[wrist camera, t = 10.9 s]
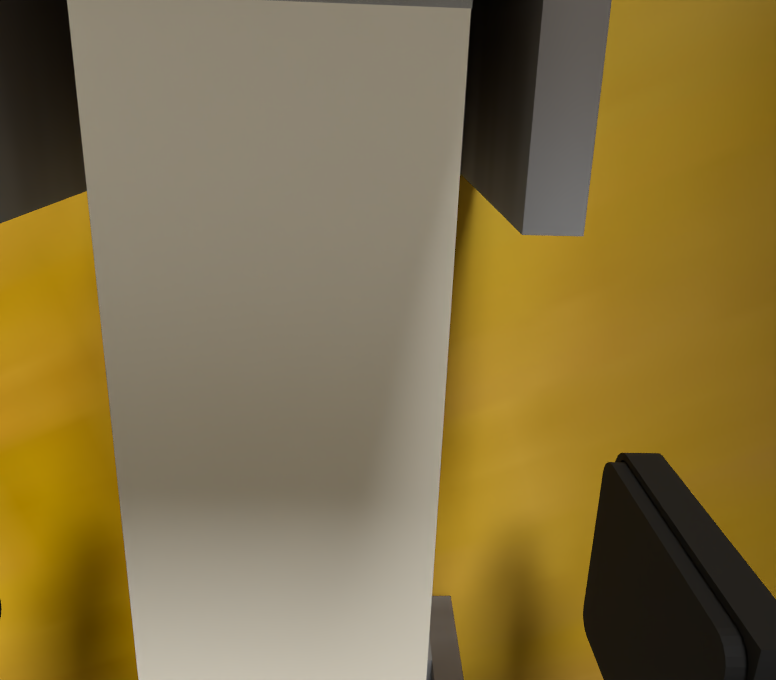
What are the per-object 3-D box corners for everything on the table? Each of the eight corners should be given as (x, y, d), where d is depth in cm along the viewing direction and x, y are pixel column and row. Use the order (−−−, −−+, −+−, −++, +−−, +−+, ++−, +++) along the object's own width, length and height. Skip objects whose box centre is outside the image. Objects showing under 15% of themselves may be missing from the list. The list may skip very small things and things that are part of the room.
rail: (193, -42, 11) (49, -144, 6) (432, -32, 11) (480, -124, 6) (234, 765, 16) (176, 1052, 11) (392, 766, 16) (402, 1050, 11)
